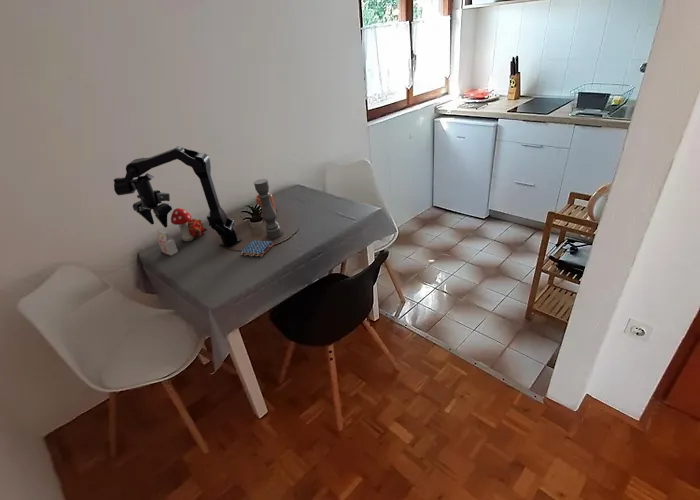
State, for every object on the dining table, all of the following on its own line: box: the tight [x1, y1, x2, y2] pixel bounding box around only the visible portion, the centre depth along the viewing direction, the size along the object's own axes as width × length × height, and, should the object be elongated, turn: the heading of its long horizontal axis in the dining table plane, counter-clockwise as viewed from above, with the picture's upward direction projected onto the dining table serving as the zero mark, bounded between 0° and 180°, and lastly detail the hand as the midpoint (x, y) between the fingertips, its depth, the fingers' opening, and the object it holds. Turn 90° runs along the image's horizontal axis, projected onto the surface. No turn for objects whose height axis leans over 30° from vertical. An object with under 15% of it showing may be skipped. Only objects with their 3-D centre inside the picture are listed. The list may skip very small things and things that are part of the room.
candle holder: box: [253, 178, 282, 240], centre depth 175 cm, size 6×6×25 cm
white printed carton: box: [157, 230, 179, 256], centre depth 179 cm, size 4×7×10 cm, turn 53°
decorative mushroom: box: [170, 207, 195, 242], centre depth 187 cm, size 10×9×15 cm
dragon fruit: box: [187, 218, 207, 239], centre depth 190 cm, size 8×8×12 cm
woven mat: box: [239, 239, 274, 258], centre depth 171 cm, size 10×11×2 cm
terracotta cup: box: [254, 192, 277, 213], centre depth 202 cm, size 8×8×9 cm
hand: (159, 225), depth 175 cm, fingers open, 9 cm apart
